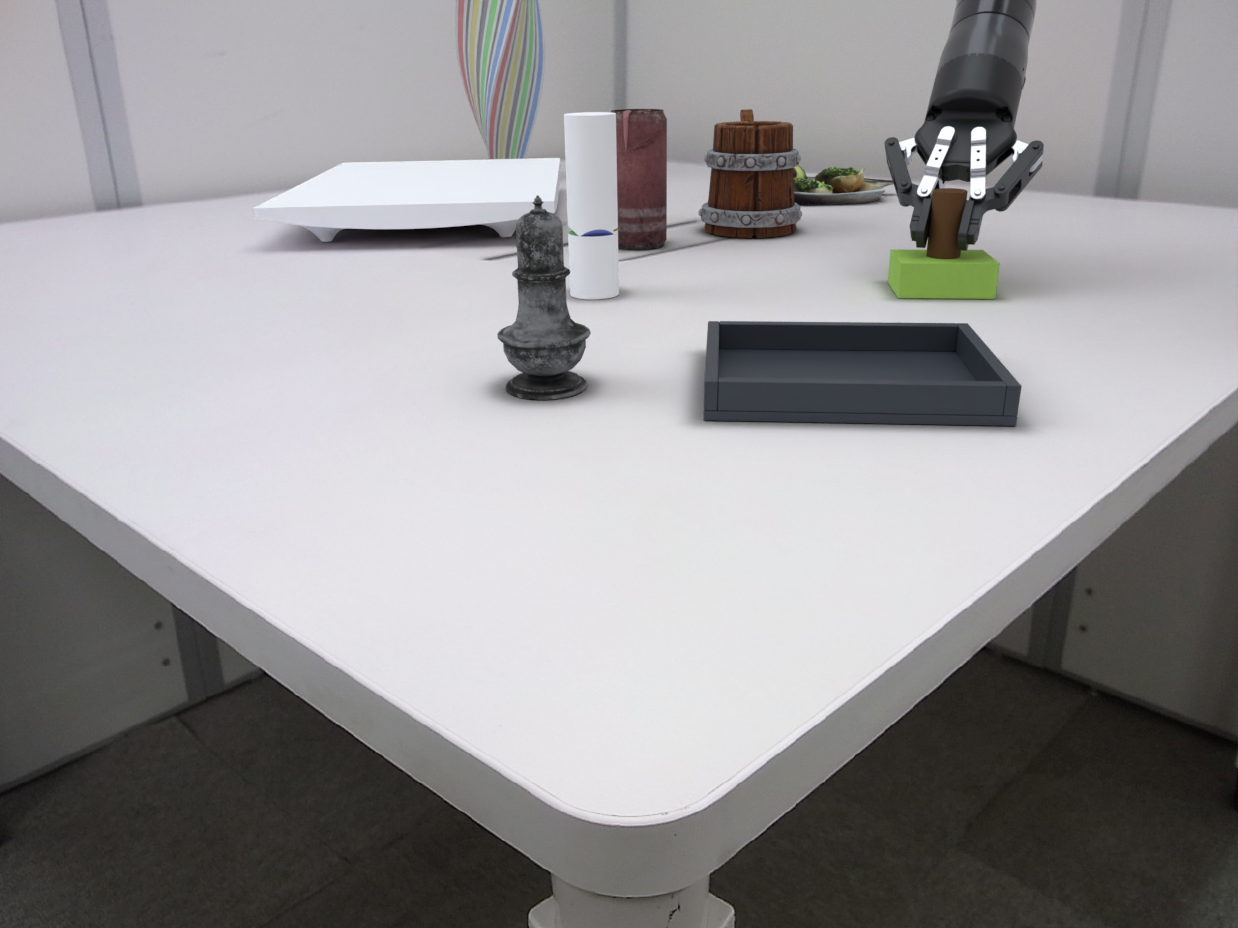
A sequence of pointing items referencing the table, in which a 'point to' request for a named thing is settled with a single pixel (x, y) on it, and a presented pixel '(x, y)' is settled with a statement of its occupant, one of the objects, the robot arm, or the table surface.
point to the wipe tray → (855, 374)
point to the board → (417, 195)
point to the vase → (502, 70)
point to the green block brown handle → (944, 258)
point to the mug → (751, 179)
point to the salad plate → (836, 187)
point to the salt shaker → (543, 314)
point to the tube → (592, 204)
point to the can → (641, 178)
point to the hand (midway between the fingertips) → (941, 243)
